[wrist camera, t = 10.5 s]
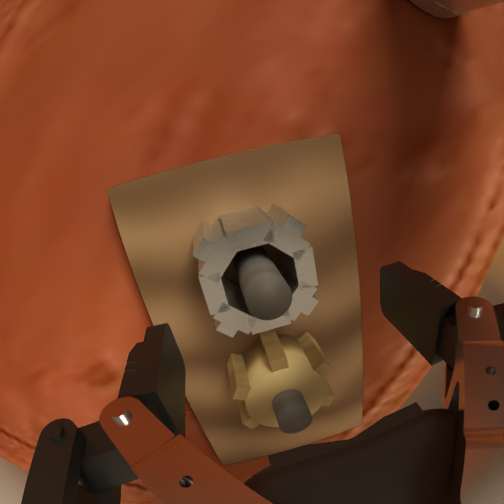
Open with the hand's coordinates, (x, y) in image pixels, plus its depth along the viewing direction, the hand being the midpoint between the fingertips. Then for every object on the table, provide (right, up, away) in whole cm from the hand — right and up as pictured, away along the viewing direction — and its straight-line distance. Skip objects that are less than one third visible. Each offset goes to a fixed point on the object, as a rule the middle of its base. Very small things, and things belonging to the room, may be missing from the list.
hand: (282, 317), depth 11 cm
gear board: (0, -4, +12) cm, 12 cm away
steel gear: (-1, +2, +8) cm, 8 cm away
